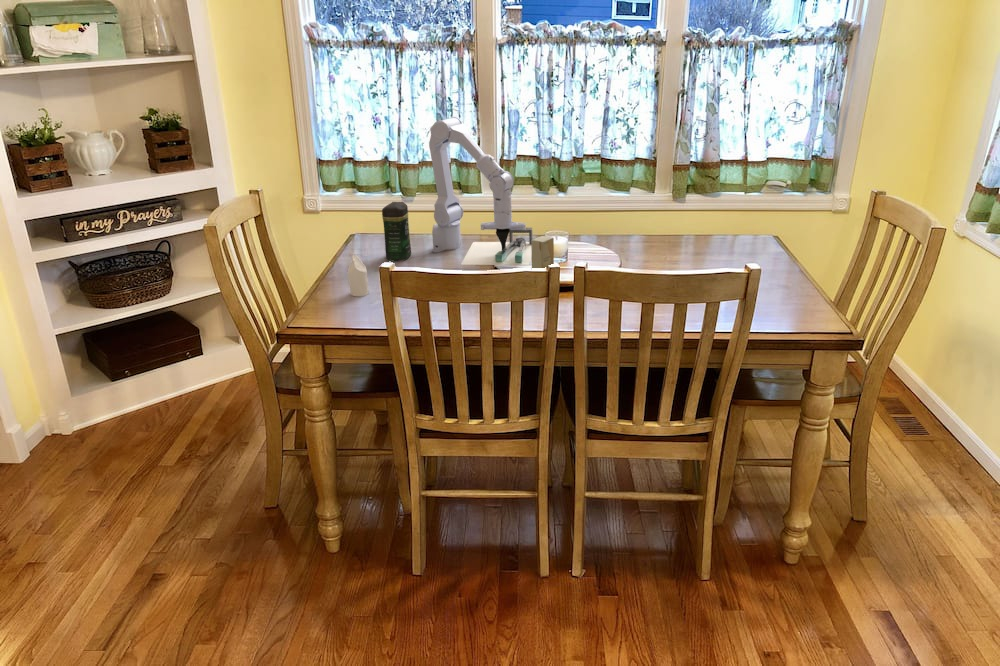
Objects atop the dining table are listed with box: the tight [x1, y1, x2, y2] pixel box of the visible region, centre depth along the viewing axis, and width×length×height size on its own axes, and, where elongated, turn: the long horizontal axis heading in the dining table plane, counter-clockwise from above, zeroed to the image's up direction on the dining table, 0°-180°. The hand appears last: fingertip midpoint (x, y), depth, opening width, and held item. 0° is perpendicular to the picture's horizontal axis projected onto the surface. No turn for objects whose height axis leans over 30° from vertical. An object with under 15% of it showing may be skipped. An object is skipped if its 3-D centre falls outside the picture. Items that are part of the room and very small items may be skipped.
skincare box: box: [531, 235, 555, 269], centre depth 240 cm, size 6×4×12 cm
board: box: [460, 241, 532, 266], centre depth 263 cm, size 22×25×1 cm
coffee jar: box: [381, 201, 412, 262], centre depth 262 cm, size 10×8×19 cm
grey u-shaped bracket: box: [508, 227, 533, 244], centre depth 270 cm, size 3×8×5 cm, turn 83°
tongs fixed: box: [515, 237, 527, 262], centre depth 261 cm, size 20×4×2 cm, turn 173°
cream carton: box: [347, 254, 370, 297], centre depth 233 cm, size 6×12×6 cm
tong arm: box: [495, 240, 516, 262], centre depth 260 cm, size 16×2×2 cm, turn 161°
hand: (503, 250), depth 261 cm, fingers closed, pressing on tong arm
